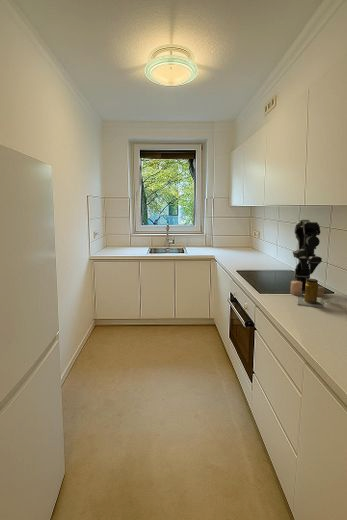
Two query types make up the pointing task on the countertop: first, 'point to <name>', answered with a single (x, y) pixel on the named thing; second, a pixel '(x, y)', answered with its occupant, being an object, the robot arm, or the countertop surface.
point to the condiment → (311, 292)
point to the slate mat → (301, 302)
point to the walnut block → (320, 291)
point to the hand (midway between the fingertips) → (306, 272)
